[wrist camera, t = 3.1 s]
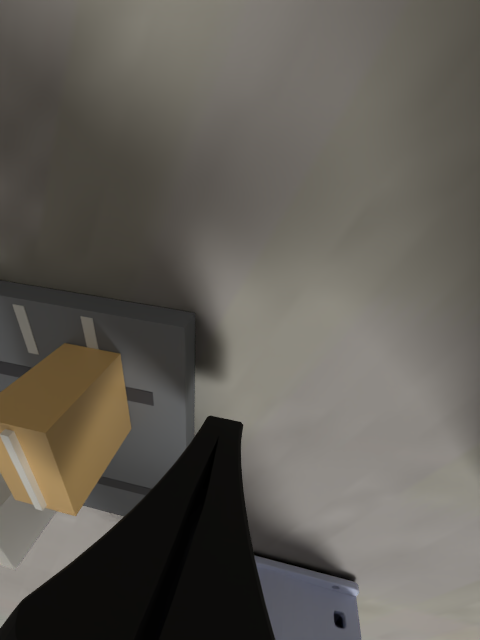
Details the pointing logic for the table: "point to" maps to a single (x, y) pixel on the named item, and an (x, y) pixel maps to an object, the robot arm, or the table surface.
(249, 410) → the table surface
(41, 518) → the cream fader knob
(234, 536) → the robot arm
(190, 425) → the mixing board
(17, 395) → the amber fader knob
